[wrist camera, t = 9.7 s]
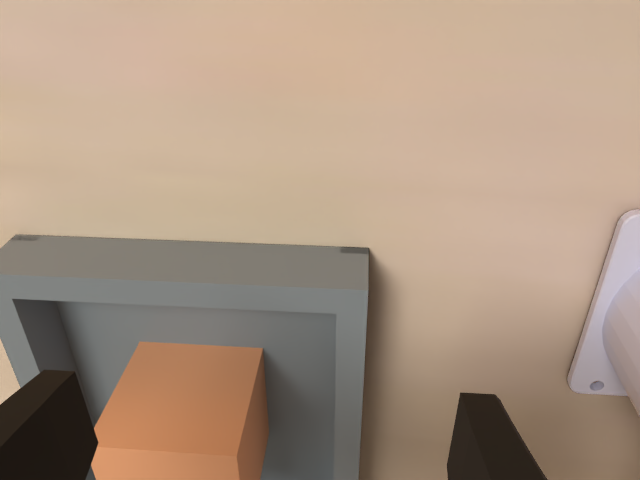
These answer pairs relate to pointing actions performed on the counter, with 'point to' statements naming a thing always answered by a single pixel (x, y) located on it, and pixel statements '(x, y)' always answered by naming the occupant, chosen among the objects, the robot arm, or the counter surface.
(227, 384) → the orange block
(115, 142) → the counter surface
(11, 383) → the counter surface
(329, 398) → the slate tray
